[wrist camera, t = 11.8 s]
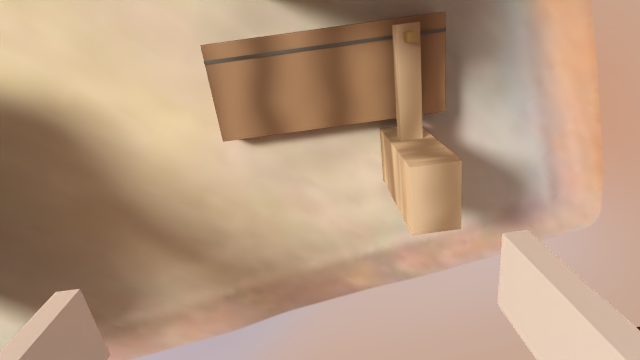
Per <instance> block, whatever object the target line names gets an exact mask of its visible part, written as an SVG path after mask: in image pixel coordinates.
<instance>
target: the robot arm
mask: <svg viewBox="0 0 640 360" xmlns="http://www.w3.org/2000/svg"><path fill="white" fill-rule="evenodd" d="M498 306H499V307H500V308H501V310H502V311H503V313H504V314H505V316H506V317H507V318H508V320H509V321H510V323H511V324H512V326H513V327H514V328H515V330H516V331H517V333H518V334H519V336H520V337H521V338H522V340H523V341H524V342H525V344H526V345H527V347H528V348H529V350H530V351H531V353H532V354H533V355H534V357H535V358H536V360H640V327H635V326H634V325H633V324H632V323H631V322H630V321H628V320H627V319H626V318H625V317H624V316H623V315H622V314H621V313H620V312H618V311H617V310H616V309H615V308H614V307H613V306H612V305H611V304H610V303H608V302H607V301H606V300H605V299H604V298H603V297H602V296H601V295H600V294H598V293H597V292H596V291H595V290H594V289H593V288H592V287H591V286H589V285H588V284H587V283H586V282H585V281H584V280H583V279H582V278H581V277H579V276H578V275H577V274H576V273H575V272H574V271H573V270H572V269H570V268H569V267H568V266H567V265H566V264H565V263H564V262H563V261H562V260H560V259H559V258H558V257H557V256H556V255H555V254H554V253H553V252H552V251H550V250H549V249H548V248H547V247H546V246H545V245H544V244H543V243H542V242H540V241H539V240H538V239H537V238H536V237H535V236H534V235H533V234H532V233H530V232H529V231H528V230H522V231H514V232H507V233H502V246H501V262H500V276H499V290H498ZM109 356H110V353H109V351H108V348H107V346H106V344H105V342H104V340H103V338H102V335H101V333H100V331H99V329H98V327H97V325H96V322H95V320H94V318H93V316H92V314H91V312H90V309H89V307H88V305H87V303H86V301H85V299H84V296H83V294H82V292H81V290H80V289H74V290H66V291H59V292H55V293H54V294H53V295H52V296H51V297H50V298H49V299H48V300H47V302H46V303H45V304H44V305H43V306H42V307H41V308H40V309H39V310H38V311H37V312H36V313H35V314H34V315H33V316H32V317H31V319H30V320H29V321H28V322H27V323H26V324H25V325H24V326H23V327H22V328H21V329H20V330H19V331H18V332H17V333H16V334H15V335H14V337H13V338H12V339H11V340H10V341H9V342H8V343H7V344H6V345H5V346H4V347H3V348H2V349H1V350H0V360H107V359H108V358H109Z"/></svg>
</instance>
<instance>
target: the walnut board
mask: <svg viewBox="0 0 640 360" xmlns="http://www.w3.org/2000/svg"><path fill="white" fill-rule="evenodd" d="M413 22H420V42H421V86H422V115H423V114H431V113H438V112H445V12H438V13H430V14H423V15H416V16H409V17H401V18H394V19H387V20H380V21H372V22H365V23H358V24H351V25H344V26H336V27H329V28H322V29H315V30H307V31H300V32H293V33H286V34H279V35H271V36H264V37H257V38H250V39H242V40H235V41H228V42H221V43H214V44H206V45H200V46H201V50H202V54H203V58H204V64H205V67H206V71H207V75H208V80H209V84H210V88H211V92H212V97H213V101H214V105H215V109H216V113H217V118H218V122H219V126H220V130H221V135H222V139H223V142H224V141H231V140H239V139H246V138H254V137H261V136H268V135H276V134H283V133H291V132H298V131H305V130H313V129H320V128H327V127H335V126H342V125H350V124H357V123H364V122H372V121H379V120H387V119H394V118H397V116H396V96H395V76H394V56H393V35H392V25H398V24H405V23H413Z"/></svg>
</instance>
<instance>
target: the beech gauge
mask: <svg viewBox="0 0 640 360" xmlns="http://www.w3.org/2000/svg"><path fill="white" fill-rule="evenodd" d="M392 35H393V56H394V76H395V96H396V116H397V126H393V127H386V128H380V137H381V152H382V167H383V180H384V182H385V184H386V186H387V188H388V190H389V192H390V194H391V196H392V197H393V199H394V201H395V203H396V205H397V207H398V209H399V211H400V213H401V215H402V216H403V218H404V220H405V222H406V224H407V226H408V228H409V230H410V232H411V234H412V235H418V234H426V233H433V232H441V231H448V230H456V229H461V193H462V160H461V159H460V158H459V157H457V156H456V155H455V154H454V153H453V152H451V151H450V150H449V149H448V148H447V147H445V146H444V145H443V144H442V143H441V142H439V141H438V140H437V139H436V138H435V137H433V136H432V135H431V134H430V133H429V132H427V131H426V130H425V129H424V128H423V127H422V86H421V42H420V22H413V23H405V24H398V25H392Z"/></svg>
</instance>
